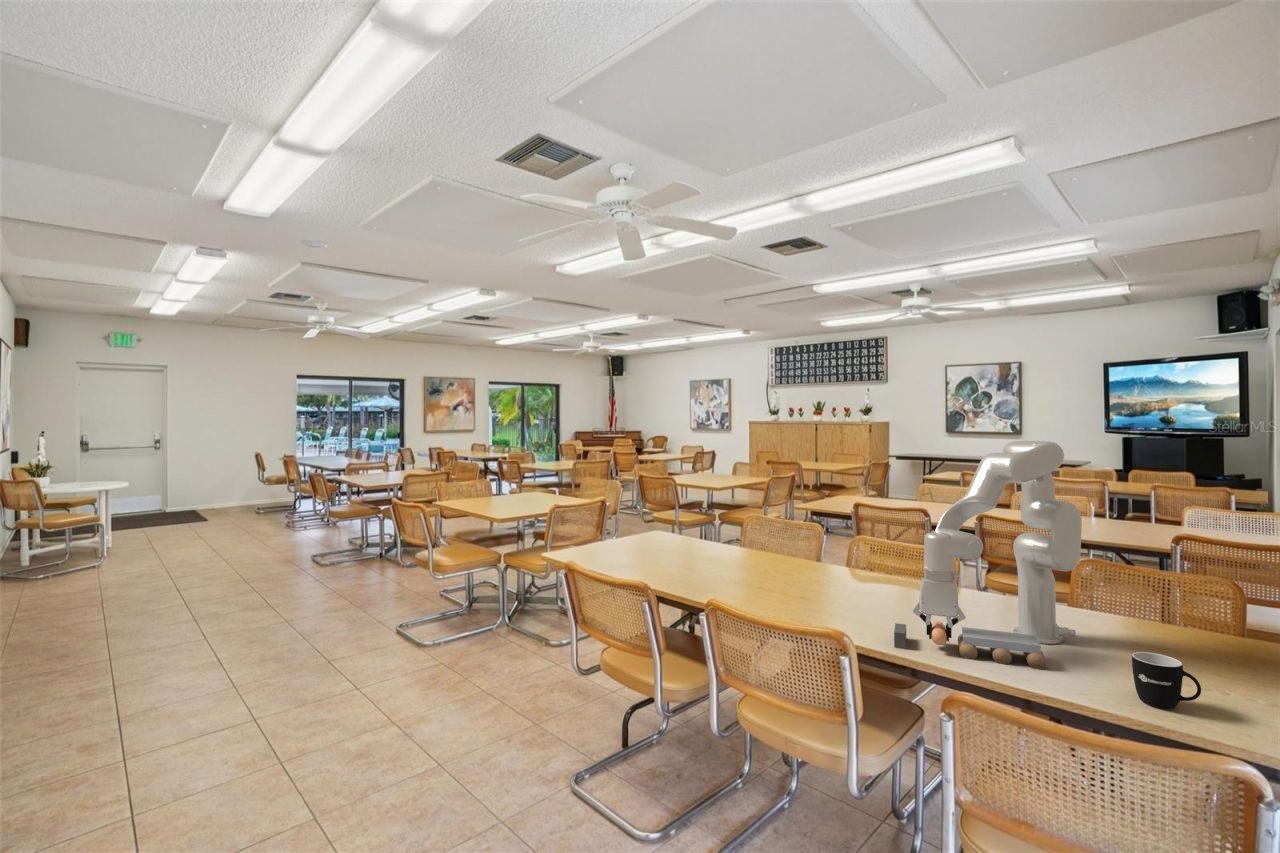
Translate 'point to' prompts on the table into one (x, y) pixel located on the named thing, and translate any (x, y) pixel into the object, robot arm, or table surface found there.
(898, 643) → the block
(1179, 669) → the mug
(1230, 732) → the table surface
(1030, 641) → the slab
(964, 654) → the roller
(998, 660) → the roller mid
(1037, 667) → the roller
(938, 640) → the roller
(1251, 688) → the table surface
